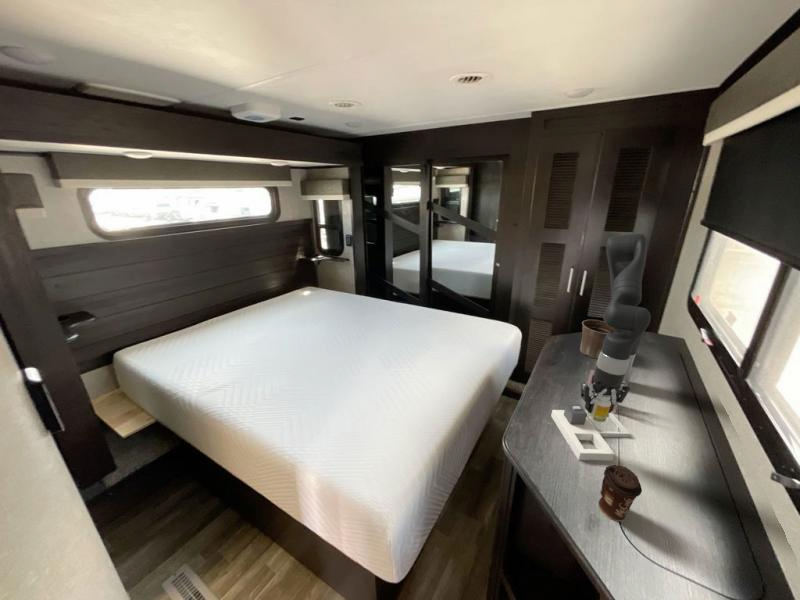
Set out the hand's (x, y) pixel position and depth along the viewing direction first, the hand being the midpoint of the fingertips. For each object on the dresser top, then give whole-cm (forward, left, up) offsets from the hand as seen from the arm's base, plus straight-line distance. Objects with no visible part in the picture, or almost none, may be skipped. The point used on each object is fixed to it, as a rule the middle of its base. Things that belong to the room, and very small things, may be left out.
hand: (597, 411), depth 98 cm
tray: (-12, -11, -16) cm, 23 cm away
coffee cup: (+5, +21, -16) cm, 27 cm away
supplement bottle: (0, 0, -3) cm, 3 cm away
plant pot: (-38, -63, -16) cm, 75 cm away
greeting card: (-18, -23, -16) cm, 33 cm away
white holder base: (0, -5, -16) cm, 16 cm away
